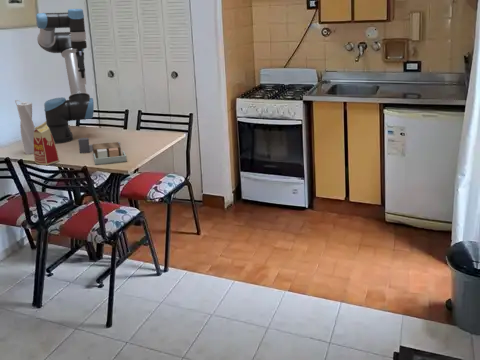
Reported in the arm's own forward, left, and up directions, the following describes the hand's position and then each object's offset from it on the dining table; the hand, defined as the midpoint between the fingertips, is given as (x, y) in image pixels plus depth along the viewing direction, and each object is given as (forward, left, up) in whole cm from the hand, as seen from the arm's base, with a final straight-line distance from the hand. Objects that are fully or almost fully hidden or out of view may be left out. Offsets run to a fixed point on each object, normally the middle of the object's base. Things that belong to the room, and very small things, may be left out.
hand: (82, 82), depth 292 cm
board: (+8, -20, -35) cm, 41 cm away
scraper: (+5, -9, -35) cm, 36 cm away
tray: (+8, -30, -35) cm, 47 cm away
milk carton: (-22, -22, -35) cm, 47 cm away
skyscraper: (-30, 0, -35) cm, 46 cm away
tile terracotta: (+10, -26, -32) cm, 42 cm away
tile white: (+5, -26, -32) cm, 41 cm away
